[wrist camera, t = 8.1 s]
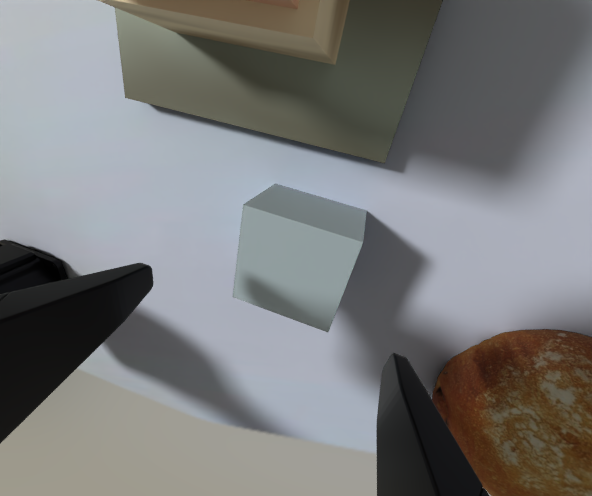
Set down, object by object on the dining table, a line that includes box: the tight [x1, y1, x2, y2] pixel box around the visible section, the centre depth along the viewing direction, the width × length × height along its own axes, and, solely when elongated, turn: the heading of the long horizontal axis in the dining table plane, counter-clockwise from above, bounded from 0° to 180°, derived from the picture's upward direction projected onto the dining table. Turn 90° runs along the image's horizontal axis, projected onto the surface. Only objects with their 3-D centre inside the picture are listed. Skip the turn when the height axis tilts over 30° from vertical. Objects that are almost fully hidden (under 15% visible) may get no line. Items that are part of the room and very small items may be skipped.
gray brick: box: [233, 184, 367, 332], centre depth 13 cm, size 5×5×4 cm
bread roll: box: [432, 329, 592, 496], centre depth 13 cm, size 10×10×8 cm
